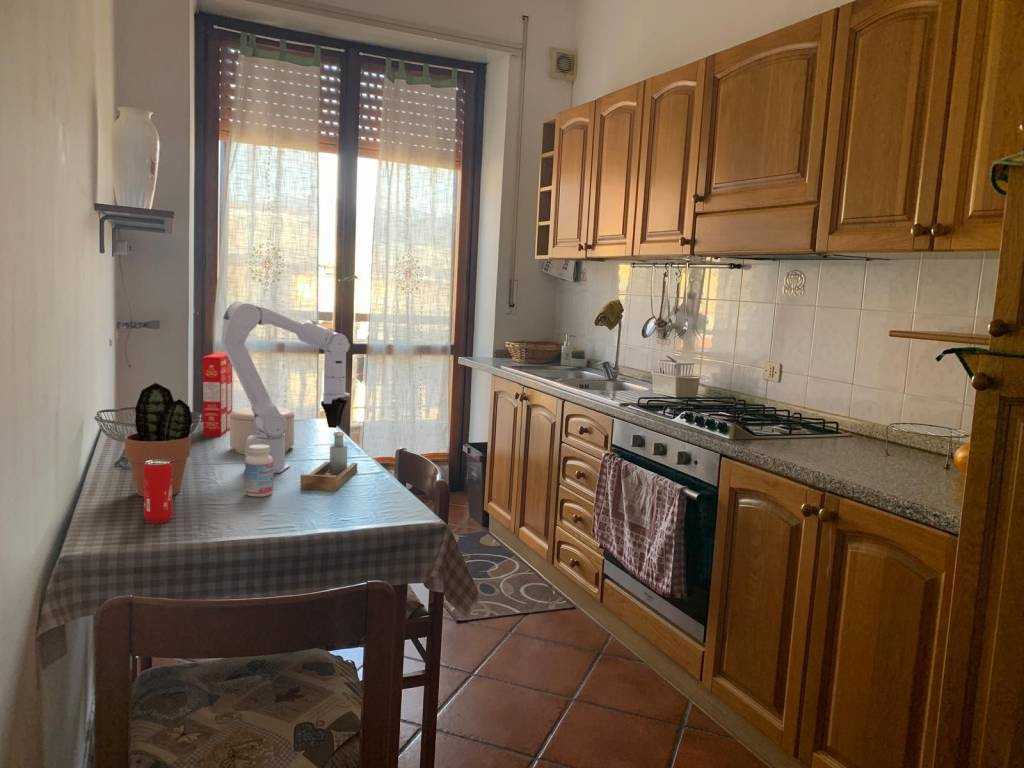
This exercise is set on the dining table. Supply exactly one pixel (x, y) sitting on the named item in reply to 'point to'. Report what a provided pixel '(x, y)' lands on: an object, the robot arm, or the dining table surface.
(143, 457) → the potted plant
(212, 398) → the food packaging
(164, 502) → the beverage can
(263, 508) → the dining table surface
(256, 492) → the pill bottle
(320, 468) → the cradle
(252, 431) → the container
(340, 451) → the bottle
